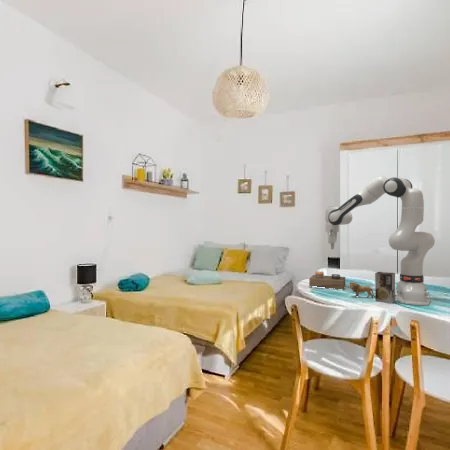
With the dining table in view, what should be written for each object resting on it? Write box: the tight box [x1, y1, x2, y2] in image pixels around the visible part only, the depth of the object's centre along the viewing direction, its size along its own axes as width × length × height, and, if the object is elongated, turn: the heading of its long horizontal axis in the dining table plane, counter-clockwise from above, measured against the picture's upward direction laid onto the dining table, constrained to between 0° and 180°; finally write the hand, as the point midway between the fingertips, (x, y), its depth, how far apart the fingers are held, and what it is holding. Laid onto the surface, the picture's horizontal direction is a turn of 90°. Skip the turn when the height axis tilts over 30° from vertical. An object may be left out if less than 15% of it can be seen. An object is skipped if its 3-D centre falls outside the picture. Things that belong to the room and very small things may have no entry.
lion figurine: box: [348, 281, 376, 299], centre depth 188 cm, size 15×5×9 cm, turn 71°
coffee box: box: [374, 271, 396, 304], centre depth 179 cm, size 9×6×16 cm
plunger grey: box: [331, 273, 341, 279], centre depth 217 cm, size 6×6×8 cm
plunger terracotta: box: [314, 271, 325, 278], centre depth 222 cm, size 6×6×8 cm
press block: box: [308, 274, 346, 290], centre depth 219 cm, size 16×22×6 cm
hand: (332, 249), depth 221 cm, fingers closed
